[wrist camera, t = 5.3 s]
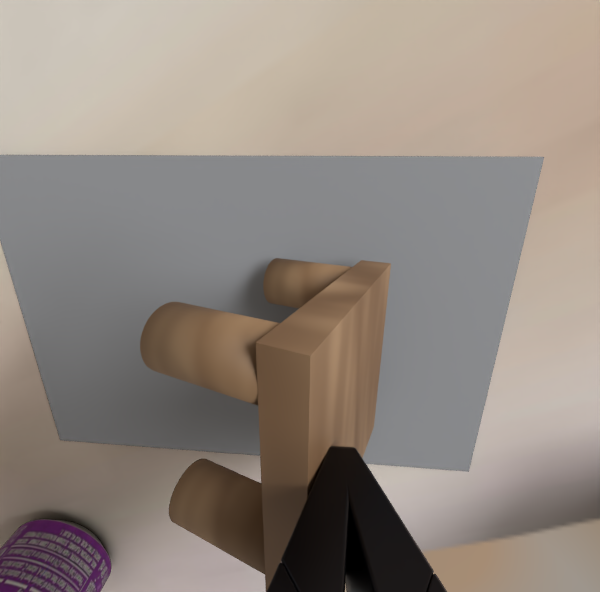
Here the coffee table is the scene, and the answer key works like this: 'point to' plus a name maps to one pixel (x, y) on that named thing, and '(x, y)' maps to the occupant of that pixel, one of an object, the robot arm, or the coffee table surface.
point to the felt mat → (249, 282)
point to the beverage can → (53, 559)
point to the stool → (276, 395)
